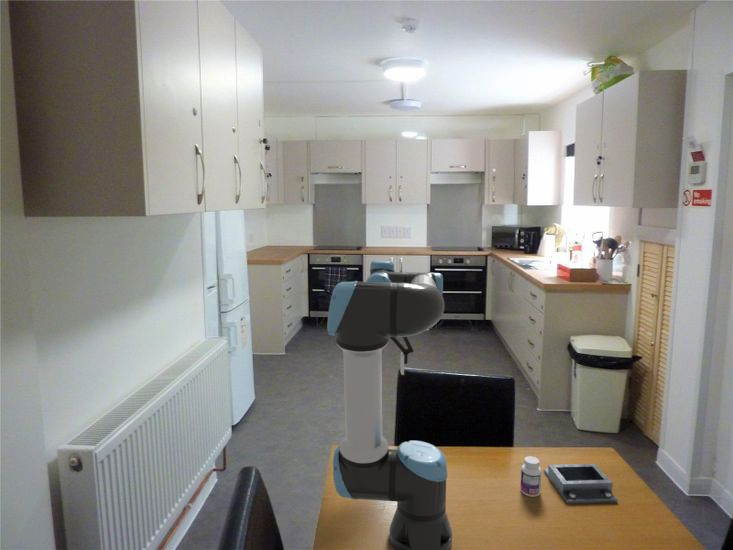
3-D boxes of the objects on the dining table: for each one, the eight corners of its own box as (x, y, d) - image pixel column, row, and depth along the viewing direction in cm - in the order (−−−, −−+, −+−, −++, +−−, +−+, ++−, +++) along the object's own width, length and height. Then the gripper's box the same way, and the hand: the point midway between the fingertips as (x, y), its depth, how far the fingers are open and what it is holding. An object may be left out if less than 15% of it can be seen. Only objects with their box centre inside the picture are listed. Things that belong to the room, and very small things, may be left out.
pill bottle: (524, 484, 145) (526, 452, 143) (543, 491, 142) (545, 459, 140) (517, 492, 141) (518, 460, 139) (535, 499, 138) (537, 467, 136)
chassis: (617, 502, 136) (618, 489, 136) (567, 503, 136) (568, 490, 135) (588, 470, 152) (589, 458, 152) (543, 471, 152) (544, 459, 151)
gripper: (418, 306, 162) (417, 369, 166) (341, 307, 160) (342, 370, 164) (423, 311, 155) (421, 377, 158) (342, 312, 153) (342, 379, 156)
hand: (381, 374), depth 161 cm, fingers open, 13 cm apart
